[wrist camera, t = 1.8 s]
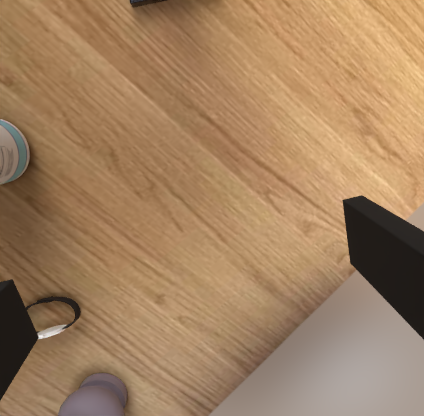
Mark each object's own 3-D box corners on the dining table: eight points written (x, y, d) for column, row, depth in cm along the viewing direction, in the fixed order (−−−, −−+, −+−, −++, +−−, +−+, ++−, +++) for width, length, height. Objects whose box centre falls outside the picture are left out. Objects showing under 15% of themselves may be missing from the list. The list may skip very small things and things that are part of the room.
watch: (30, 335, 46) (15, 353, 42) (15, 302, 45) (-1, 317, 41) (88, 320, 45) (78, 337, 42) (75, 286, 44) (63, 301, 41)
